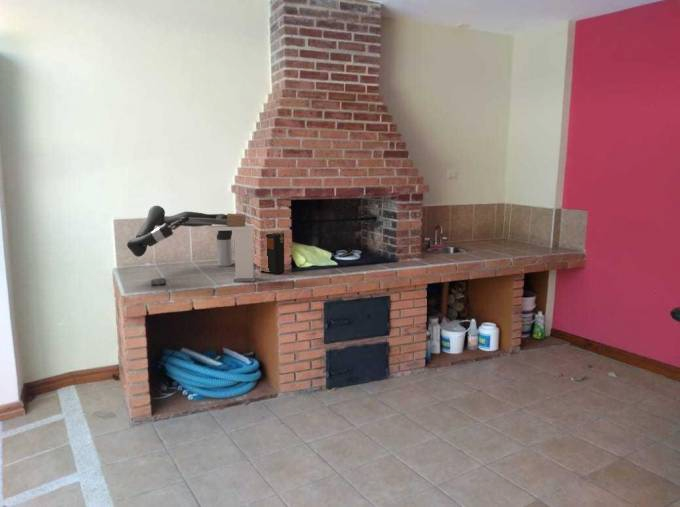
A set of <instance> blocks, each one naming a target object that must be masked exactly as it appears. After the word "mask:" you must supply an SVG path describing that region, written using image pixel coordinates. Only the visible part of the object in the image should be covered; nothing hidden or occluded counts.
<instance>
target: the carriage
mask: <svg viewBox="0 0 680 507" xmlns="http://www.w3.org/2000/svg"><path fill="white" fill-rule="evenodd" d="M226 215H227V219H211V218H189V220H188V221H186V222H185V223H188V224H211V225H227V226H245V224H246V214H245V213H227V214H226ZM183 218H185V217H180V220H182V219H183ZM183 223H184V222H183Z"/></svg>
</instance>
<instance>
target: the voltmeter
mask: <svg viewBox="0 0 680 507" xmlns="http://www.w3.org/2000/svg"><path fill="white" fill-rule="evenodd" d="M266 237H267V256H268V268H269V271H270V272H271V273H270V274H273V273H274V275H279V273H280V274H283V273H282V272H284V273H285V233H284V232H277V233H273V234H267V235H266Z"/></svg>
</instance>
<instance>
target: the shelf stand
mask: <svg viewBox="0 0 680 507" xmlns="http://www.w3.org/2000/svg"><path fill="white" fill-rule="evenodd" d="M225 230H232V231H233V232H234V261H235V262H234V266H235V268H234V269H235V271H234V272H235V274H234V277H233V282H234V283H243V282H242V281H255V282H256V274H255V273H254V237H253V235H254V234H253V232H254V231H255V224H254V223H253V224H251V223H250V224H249V223H247V224H246V223H245V226H227V225H212V226H210V231H212V232H213V231H214V232H215V231H216V232H218V231H225Z"/></svg>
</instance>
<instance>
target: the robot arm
mask: <svg viewBox="0 0 680 507" xmlns="http://www.w3.org/2000/svg"><path fill="white" fill-rule="evenodd" d="M180 217H185V218H183V219H182V220H180ZM189 218H211V219H227V214H225V213H216V214H215V213H213V214H212V213H210V214H209V213H204V212H203V213H202V212H197V211H182V212H180V213H176V214H174V215H169V216H168V215H167V216H166V211H165V209H164V208H163V207H162V206H160V205H153V206H151V207H150V209H149V210H148V214H147V217H146V219H145V221H144V223H143V225H142V226H141V227H140V229H139V231H138V232H137V233H136V236H135V237H133V238H131V239H130V240H129V241H128V242H127V243H126V246H127V248H128V249H129V250H130V252H131V253H132V254H133V255H134V256H135V257H137V258H138V257H143V255H145V253H146V251H147V249H148V247H153V246H155V245H156V244H158V243H159V242H163V241H164V240H166V239H168V238H169V237H171V236H173V235H174V232H173V231H175V230H177V229H178V228H180V227H191V228H192V227H193V228H194V227H196V228H197V227H205V226H207V227H208V226H210V227H211V226H212V225H211V224H188V223H185V222H186V221H188V220H189ZM183 222H184V223H183ZM232 235H233V230H225V231H217V234H216V252H217V253H216V254H217V255H216V256H217V259H216V260H217V266H218V267H230V266H232V265H233V255H232V254H233V253H232V248H233V246H232Z"/></svg>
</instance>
